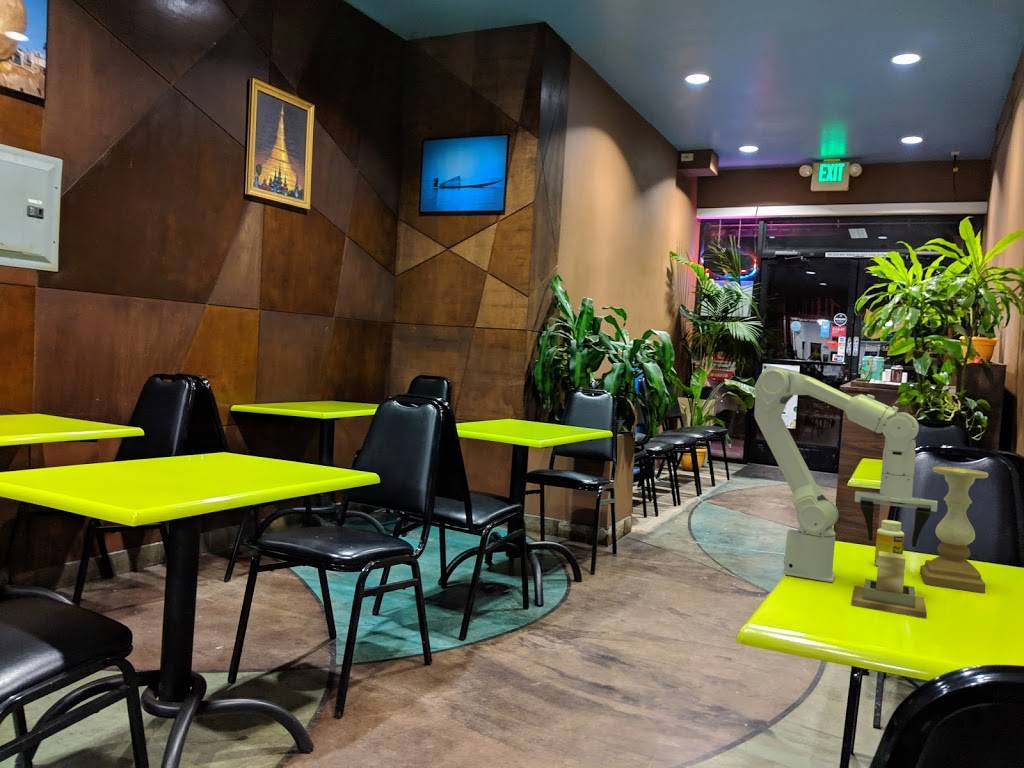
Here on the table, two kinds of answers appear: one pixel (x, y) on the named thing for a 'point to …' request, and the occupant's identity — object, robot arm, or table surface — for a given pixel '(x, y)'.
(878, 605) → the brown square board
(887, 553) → the tan rectangular block
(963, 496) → the candle holder
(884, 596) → the gray square frame
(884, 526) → the supplement bottle
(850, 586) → the table surface
